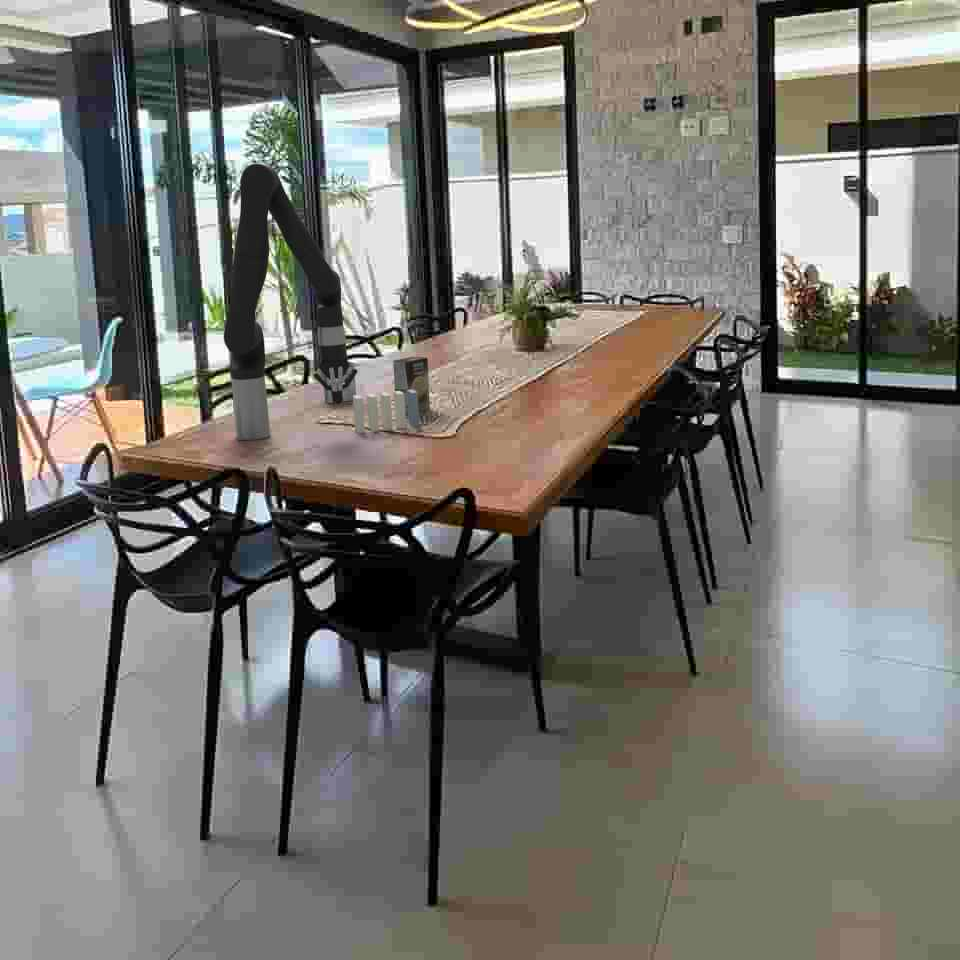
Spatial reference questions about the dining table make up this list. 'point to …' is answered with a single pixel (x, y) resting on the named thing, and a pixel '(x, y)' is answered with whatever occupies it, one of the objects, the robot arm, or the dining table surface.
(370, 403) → the domino
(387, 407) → the domino
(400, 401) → the domino
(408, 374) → the coffee box
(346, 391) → the ink cartridge box
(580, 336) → the dining table surface
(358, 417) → the domino
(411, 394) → the end domino
